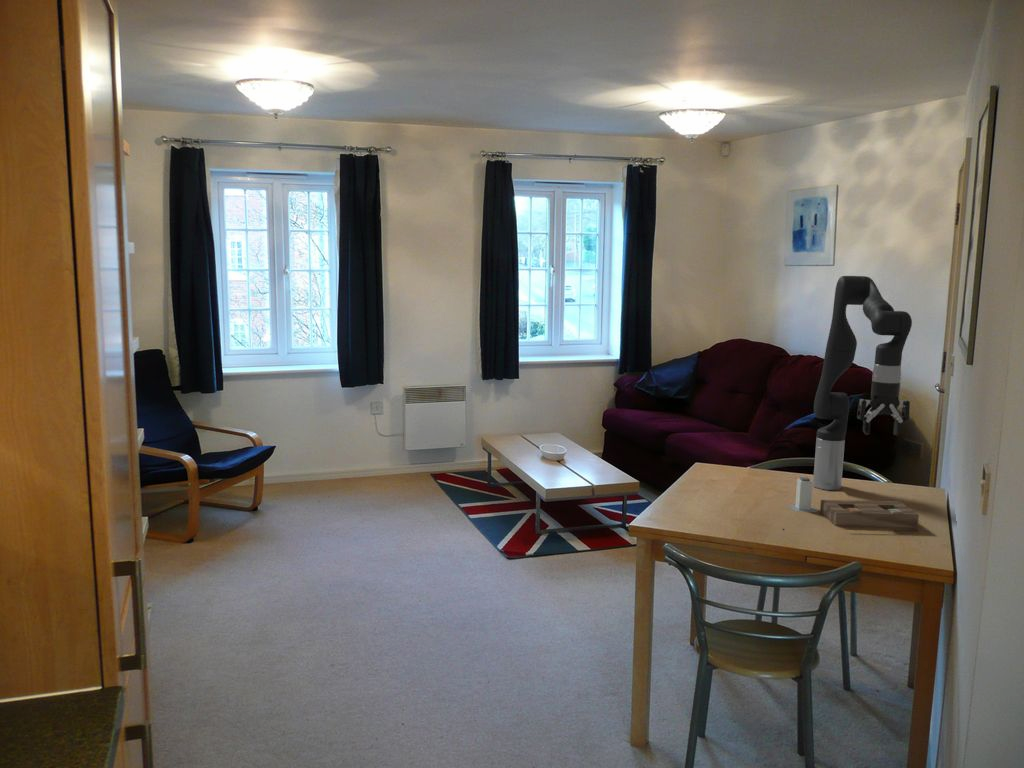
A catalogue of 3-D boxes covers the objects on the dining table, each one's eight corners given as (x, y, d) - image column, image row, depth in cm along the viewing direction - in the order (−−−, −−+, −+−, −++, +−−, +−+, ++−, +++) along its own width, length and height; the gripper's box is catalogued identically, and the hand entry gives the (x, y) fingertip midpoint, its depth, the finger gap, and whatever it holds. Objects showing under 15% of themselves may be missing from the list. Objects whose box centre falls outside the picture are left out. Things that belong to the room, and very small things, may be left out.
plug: (795, 506, 268) (797, 476, 266) (806, 506, 268) (808, 476, 266) (798, 509, 264) (801, 479, 263) (810, 509, 264) (812, 480, 263)
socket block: (819, 515, 262) (821, 498, 261) (898, 517, 262) (899, 500, 261) (834, 529, 249) (836, 511, 248) (917, 530, 249) (918, 513, 248)
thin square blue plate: (788, 507, 270) (788, 504, 269) (810, 508, 270) (810, 505, 269) (794, 514, 263) (795, 511, 263) (817, 514, 263) (817, 511, 262)
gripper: (905, 378, 249) (899, 432, 252) (856, 377, 249) (851, 431, 252) (916, 382, 242) (911, 438, 245) (866, 381, 242) (862, 437, 245)
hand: (881, 434), depth 248 cm, fingers open, 8 cm apart
